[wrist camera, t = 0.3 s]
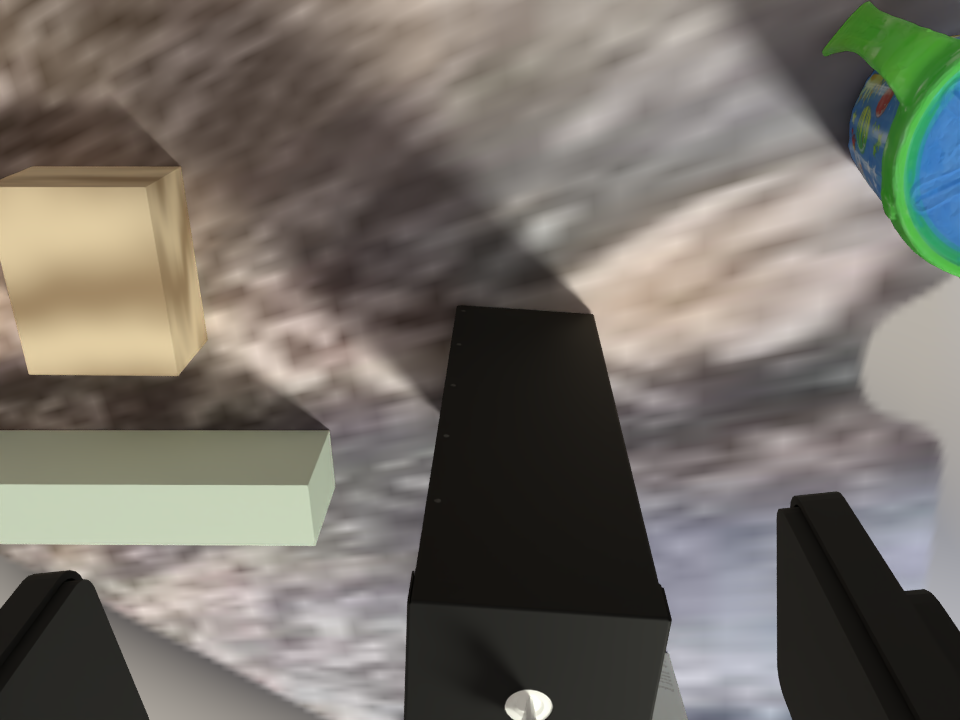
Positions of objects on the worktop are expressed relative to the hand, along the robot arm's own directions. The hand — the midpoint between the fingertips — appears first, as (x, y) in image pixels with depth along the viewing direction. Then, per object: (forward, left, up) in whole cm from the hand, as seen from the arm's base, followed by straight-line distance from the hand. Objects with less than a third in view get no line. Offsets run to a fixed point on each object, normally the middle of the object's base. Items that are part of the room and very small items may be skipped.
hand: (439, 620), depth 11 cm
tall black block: (+13, +2, -36) cm, 38 cm away
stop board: (+19, -20, -35) cm, 45 cm away
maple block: (+6, -20, -36) cm, 42 cm away
